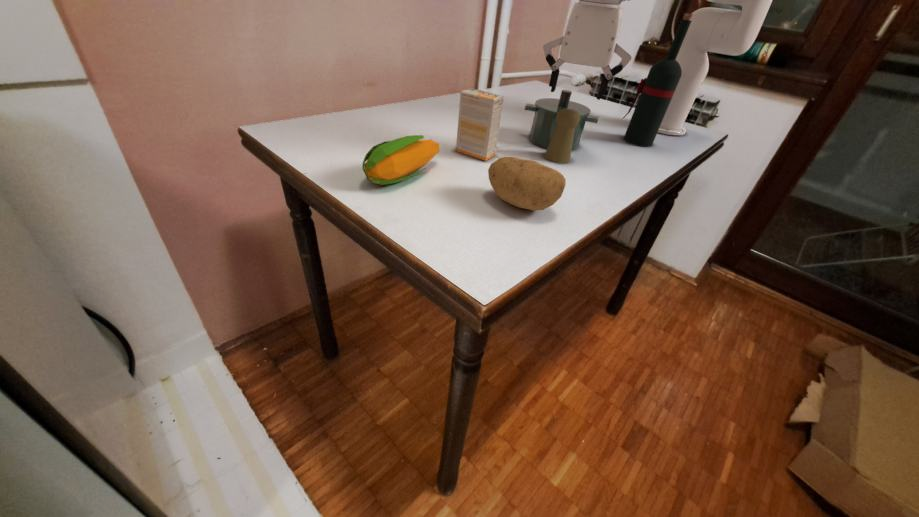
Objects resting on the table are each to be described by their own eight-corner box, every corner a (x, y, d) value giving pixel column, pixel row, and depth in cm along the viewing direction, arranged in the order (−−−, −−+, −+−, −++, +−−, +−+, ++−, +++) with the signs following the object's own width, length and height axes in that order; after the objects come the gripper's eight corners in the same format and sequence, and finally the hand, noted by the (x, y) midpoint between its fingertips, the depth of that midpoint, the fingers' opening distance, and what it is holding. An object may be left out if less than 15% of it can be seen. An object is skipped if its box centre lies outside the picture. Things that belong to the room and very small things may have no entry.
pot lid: (538, 99, 97) (542, 81, 94) (590, 109, 94) (596, 90, 91) (530, 112, 86) (534, 91, 84) (588, 123, 84) (594, 102, 81)
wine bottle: (620, 132, 107) (665, 10, 89) (655, 142, 103) (710, 16, 84) (611, 137, 102) (656, 9, 84) (647, 149, 98) (704, 16, 79)
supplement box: (495, 155, 84) (505, 95, 76) (485, 161, 80) (494, 99, 72) (465, 145, 87) (472, 87, 79) (454, 151, 84) (460, 90, 76)
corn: (349, 142, 62) (425, 119, 75) (351, 182, 66) (421, 154, 80) (381, 159, 59) (453, 131, 72) (380, 199, 64) (448, 166, 77)
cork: (570, 165, 84) (585, 116, 77) (544, 160, 84) (556, 111, 78) (569, 155, 88) (583, 108, 82) (544, 151, 89) (556, 104, 82)
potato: (499, 183, 73) (506, 144, 68) (565, 208, 67) (578, 167, 62) (473, 200, 66) (478, 158, 61) (543, 229, 60) (555, 186, 55)
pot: (524, 128, 102) (530, 96, 97) (589, 141, 98) (599, 108, 93) (515, 142, 92) (522, 107, 87) (587, 157, 89) (598, 122, 83)
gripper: (648, 1, 68) (616, 97, 79) (556, -9, 72) (538, 84, 82) (651, 2, 63) (617, 105, 73) (551, -9, 66) (532, 91, 77)
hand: (575, 94), depth 78 cm, fingers open, 9 cm apart
